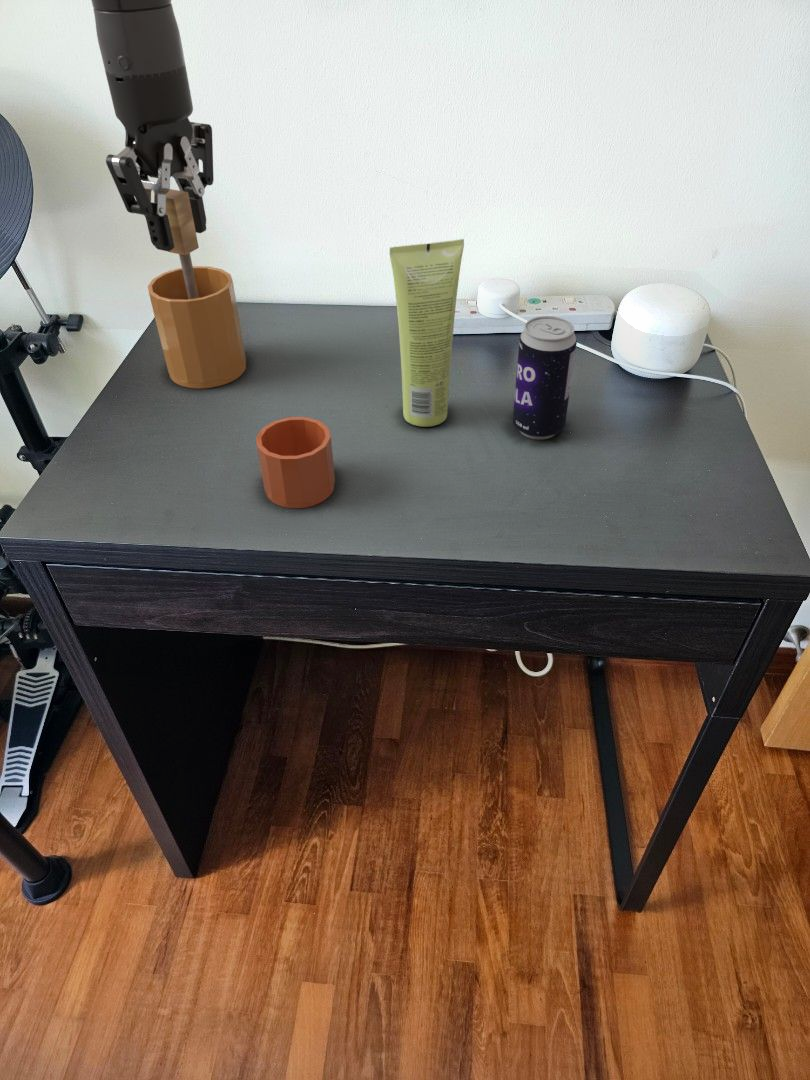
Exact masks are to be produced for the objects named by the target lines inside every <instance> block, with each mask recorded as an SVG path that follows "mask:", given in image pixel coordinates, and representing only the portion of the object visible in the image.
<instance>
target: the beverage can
mask: <svg viewBox="0 0 810 1080" xmlns="http://www.w3.org/2000/svg"><path fill="white" fill-rule="evenodd" d="M518 340H519V341H518V351H517V364H516V374H515V385H514V398H513V410H512V424H513V426H514V427H515V428H516V429H517V430H518V431H519V432H520V433H521V434H522V435H523V436H525V437H527V438H528V439H532V440H547V439H551V438H553V437H554V436H555V435H556V434H559V433H561V432H562V431H563V430H564V428H565V427H566V422H567V416H568V407H569V402H570V401H569V400H570V394H571V387H572V386H571V385H572V379H573V372H574V364H575V357H576V351H577V343H578V340H577V336H576V334H575V326H574V325H573V323H572V322H570V321H569V320H567V319H565V318H562V317H558V316H553V315H552V316H551V315H544V316H543V315H542V316H537V317H533V318H530V319H528V321H526V323H525V324H524V329H523V330H522V332H521V333H520V336H519V339H518Z"/></svg>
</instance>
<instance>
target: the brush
mask: <svg viewBox="0 0 810 1080" xmlns="http://www.w3.org/2000/svg"><path fill="white" fill-rule="evenodd" d="M165 214H167V215H168V219H169V223H170V228H171V233H172V237H173V242H174V249H172V250H170V251H167V252H168V253H172V254H177V255H178V257H179V261H180V266H181V268H182V271H183V276H184V280H185V285H186V290H187V295H188V299H195V298H199V295H198V290H197V285H196V280H195V275H194V271H193V266H194V265H193V262H192V255H191V253H192V252H194V251H196V250H197V249H199V242H198V241H199V240H198V236H197V233H196V231H195V225H194V220H193V215H192V210H191V205H190V200H189V194H188V192H184V191H180V190H178V189H172V188H170V190H169V192H167V193H166V212H165Z"/></svg>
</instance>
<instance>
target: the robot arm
mask: <svg viewBox="0 0 810 1080" xmlns="http://www.w3.org/2000/svg"><path fill="white" fill-rule="evenodd" d="M90 2H91V5H92V8H93V14H94V23H95V31H96V39H97V42H98V46H99V51H100V56H101V61H102V63H103V68H104V73H105V76H106V80H107V86H108V90H109V94H110V98H111V101H112V106H113V110H114V115H115V117H116V119H118V121H120V123H121V124H122V126H123V127H124V131H125V139H124V140H125V141H124V146H125V148H123V150H121V151H120V152H119V153H118V154H110V153H109V154H108V155H107V156H106V157H105V164H106V166H107V169H108V170H109V171H108V172H109V173H110V175H111V177H112V180H113V182H114V185H115V187H116V190H118V193H119V195H120V198H121V200H122V202H123V204H124V207H125V210H126V211H127V213H129V214H137V215H142V216H144V217H145V221H146V226H147V230H148V234H149V239H150V242H151V244H152V246H154V247H155V248H156V249H157V250H158V251H163V252H168V251H170V250H172V249H174V242H173V237H172V233H171V228H170V223H169V219H168V215H167V214H165V212H166V193H167V192H169V190H170V189H171V178H173V179H174V181H175V183H176V185H177V187H178V189H179V191H184V192H188V194H189V200H190V205H191V210H192V215H193V220H194V225H195V231H196V234H202V233H204V232H206V231H207V215H206V210H205V204H204V199H203V196H204V195H205V191H206V190H205V189H206V188H207V186H212V185H213V184H214V145H213V128H212V125H211V124H209V123H201V122H195V121H194V122H193V121H190V118H189V117H190V116H191V115H192V114H193V111H194V106H193V100H192V95H191V93H192V92H191V89H190V83H189V77H188V72H187V66H186V60H185V54H184V49H183V43H182V38H181V37H182V36H181V32H180V29H179V24H178V22H177V19H176V15H175V11H174V7H173V4H172V0H90ZM200 161H201V163H202V171H201V170H200ZM149 178H153V179H157V181H151V180H150V179H149ZM152 192H153V194H154V195H153V202H152Z"/></svg>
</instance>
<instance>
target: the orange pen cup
mask: <svg viewBox="0 0 810 1080" xmlns="http://www.w3.org/2000/svg"><path fill="white" fill-rule="evenodd" d="M192 266H193V271H194V275H195V280H196V285H197V290H198V295H199V298H195V299H188V295H187V290H186V285H185V280H184V276H183V271H182V267H179V268H175V269H171V270H168V271H165V272H163V273H161V274H159V275H157V276H156V277H154V278H152V279H151V281H150V282H149V283H148V284H147V291H148V296H149V301H150V303H151V309H152V312H153V316H154V319H155V324H156V329H157V332H158V335H159V340H160V345H161V348H162V353H163V356H164V360H165V364H166V369H167V373H168V376H169V378H170V380H171V381H172V382H173V383H175V384H176V385H177V386H181V387H184V388H188V389H196V390H197V389H198V390H199V389H211V388H212V389H213V388H217V387H222V386H225V385H227V384H229V383H231V382H233V381H236V380H237V379H239V377H241V376H242V375H243V374H244V373H245V371H246V369H247V357H246V356H247V355H246V351H245V344H244V339H243V333H242V326H241V322H240V316H239V309H238V304H237V297H236V292H235V286H234V285H235V284H234V280H233V277H232V275H231V273H229V272H227V271H226V270H224V269H222V268H218V267H213V266H206V265H204V266H202V265H201V266H200V265H199V266H198V265H192Z"/></svg>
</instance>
